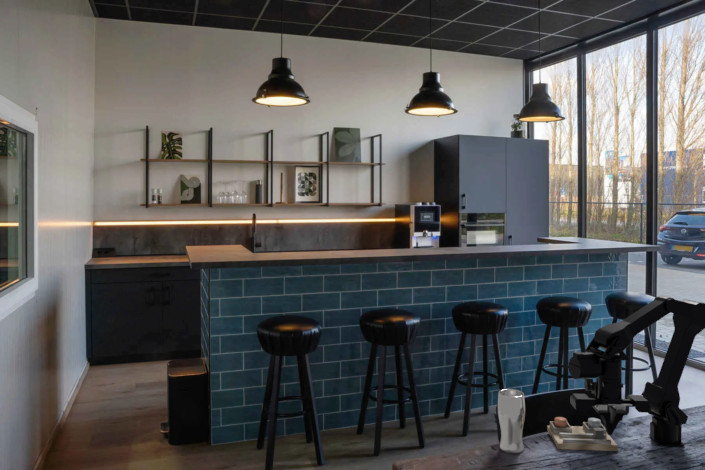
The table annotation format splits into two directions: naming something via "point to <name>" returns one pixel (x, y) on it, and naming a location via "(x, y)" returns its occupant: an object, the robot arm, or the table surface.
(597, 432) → the block
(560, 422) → the terracotta button
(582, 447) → the control panel
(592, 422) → the grey button
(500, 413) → the beer glass
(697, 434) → the table surface
